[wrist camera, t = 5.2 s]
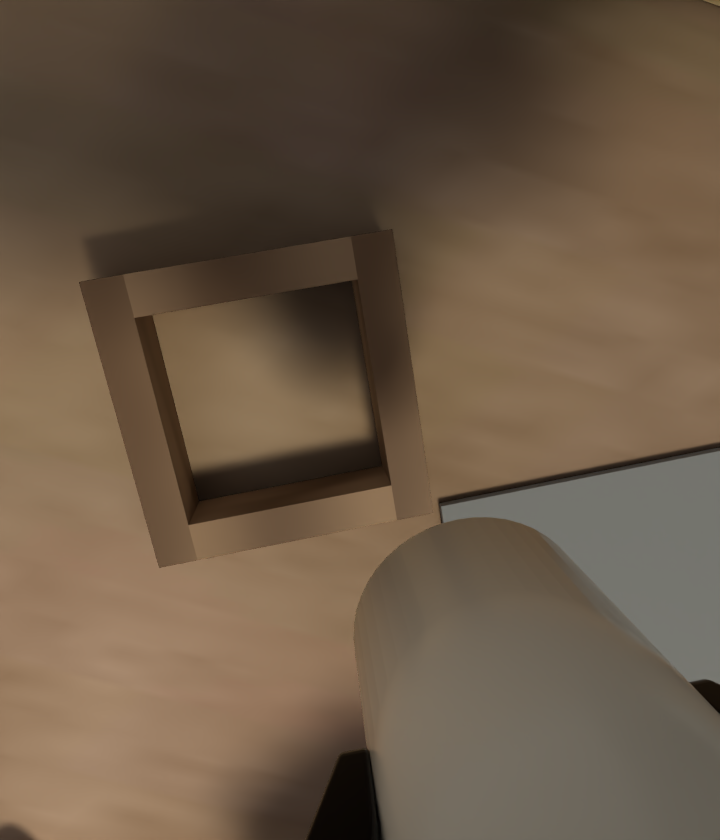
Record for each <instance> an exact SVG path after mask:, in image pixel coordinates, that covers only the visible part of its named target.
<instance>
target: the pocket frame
mask: <svg viewBox="0 0 720 840" xmlns="http://www.w3.org/2000/svg"><path fill="white" fill-rule="evenodd" d="M351 280H352V286H353V292H354V298H355V304H356V310H357V316H358V322H359V328H360V334H361V340H362V346H363V352H364V358H365V364H366V370H367V376H368V382H369V388H370V394H371V400H372V406H373V413H374V419H375V425H376V431H377V437H378V443H379V449H380V455H381V461H382V466H379V467H374V468H369V469H364V470H358V471H353V472H348V473H343V474H338V475H333V476H328V477H322V478H317V479H312V480H307V481H302V482H297V483H291V484H286V485H281V486H276V487H271V488H266V489H261V490H255V491H250V492H245V493H240V494H235V495H230V496H224V497H219V498H214V499H209V500H204V501H199V499H198V495H197V491H196V487H195V483H194V479H193V475H192V472H191V468H190V464H189V460H188V456H187V452H186V448H185V444H184V440H183V436H182V432H181V428H180V424H179V420H178V416H177V412H176V408H175V404H174V400H173V397H172V393H171V389H170V385H169V381H168V377H167V373H166V369H165V365H164V361H163V357H162V353H161V349H160V345H159V341H158V337H157V333H156V329H155V325H154V321H153V318H152V315H154V314H160V313H166V312H172V311H177V310H183V309H189V308H195V307H200V306H206V305H212V304H218V303H224V302H229V301H235V300H241V299H247V298H253V297H258V296H264V295H270V294H276V293H281V292H287V291H293V290H299V289H305V288H310V287H316V286H322V285H328V284H333V283H339V282H345V281H351ZM79 284H80V287H81V291H82V295H83V298H84V302H85V305H86V309H87V312H88V316H89V320H90V323H91V327H92V330H93V334H94V337H95V341H96V345H97V348H98V352H99V355H100V359H101V362H102V366H103V369H104V373H105V377H106V380H107V384H108V387H109V391H110V394H111V398H112V402H113V405H114V409H115V412H116V416H117V419H118V423H119V427H120V430H121V434H122V437H123V441H124V444H125V448H126V452H127V455H128V459H129V462H130V466H131V469H132V473H133V476H134V480H135V484H136V487H137V491H138V494H139V498H140V501H141V505H142V509H143V512H144V516H145V519H146V523H147V526H148V530H149V534H150V537H151V541H152V544H153V548H154V551H155V555H156V558H157V562H158V566H159V568H161V567H166V566H171V565H176V564H181V563H186V562H191V561H196V560H201V559H206V558H211V557H216V556H221V555H226V554H231V553H236V552H241V551H246V550H251V549H256V548H261V547H266V546H271V545H276V544H281V543H286V542H291V541H296V540H301V539H306V538H311V537H316V536H321V535H326V534H331V533H336V532H341V531H346V530H351V529H356V528H361V527H366V526H371V525H376V524H381V523H386V522H391V521H396V520H400V519H405V518H410V517H415V516H420V515H425V514H430V513H433V506H432V499H431V492H430V486H429V479H428V472H427V465H426V458H425V451H424V444H423V437H422V430H421V424H420V417H419V410H418V403H417V396H416V389H415V382H414V375H413V368H412V362H411V355H410V348H409V341H408V334H407V327H406V320H405V313H404V306H403V300H402V293H401V286H400V279H399V272H398V265H397V258H396V251H395V244H394V238H393V231H392V229H391V230H385V231H379V232H373V233H367V234H361V235H355V236H349V237H343V238H337V239H331V240H325V241H319V242H313V243H307V244H301V245H295V246H289V247H284V248H278V249H272V250H266V251H260V252H254V253H248V254H242V255H236V256H230V257H224V258H218V259H212V260H206V261H200V262H194V263H188V264H182V265H176V266H170V267H165V268H159V269H153V270H147V271H141V272H135V273H129V274H123V275H117V276H111V277H105V278H99V279H93V280H87V281H81V282H79Z"/></svg>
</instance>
